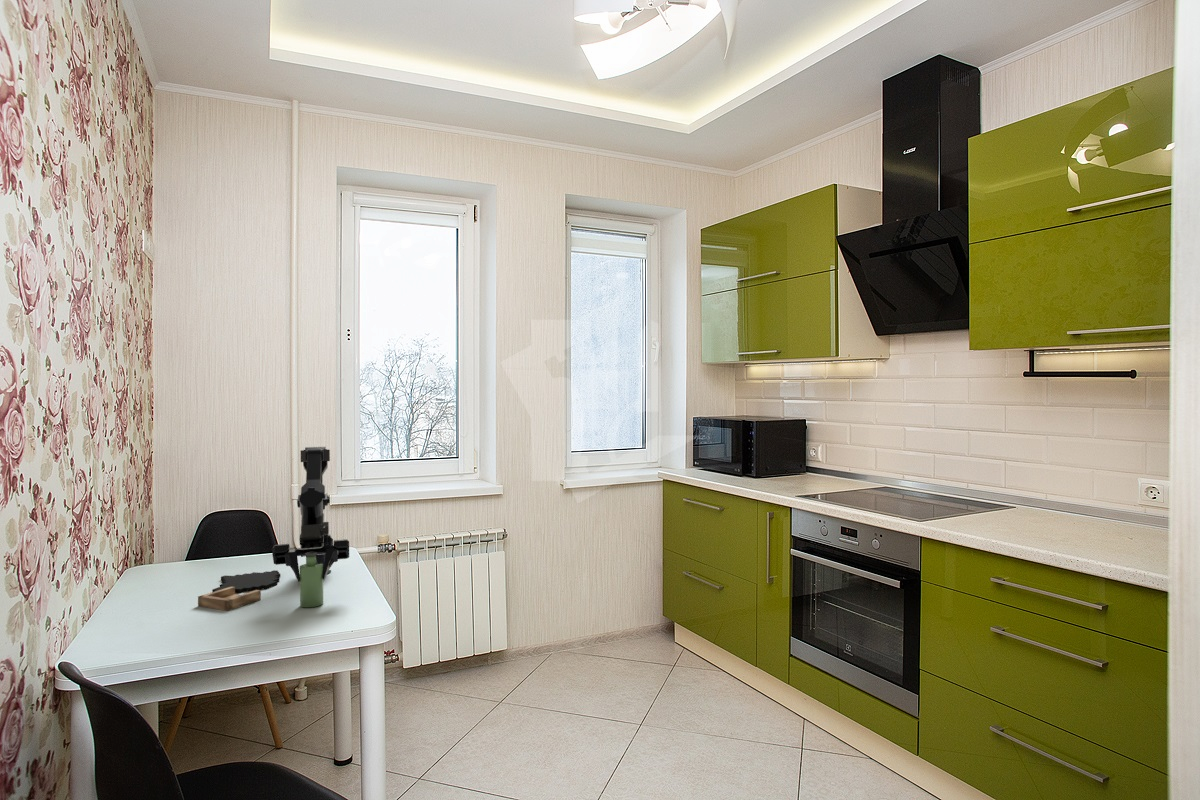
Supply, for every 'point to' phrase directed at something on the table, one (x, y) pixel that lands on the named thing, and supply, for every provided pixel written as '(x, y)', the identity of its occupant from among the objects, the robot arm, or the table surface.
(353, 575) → the table surface
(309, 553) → the bottle
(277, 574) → the decorative item
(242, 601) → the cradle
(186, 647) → the table surface
